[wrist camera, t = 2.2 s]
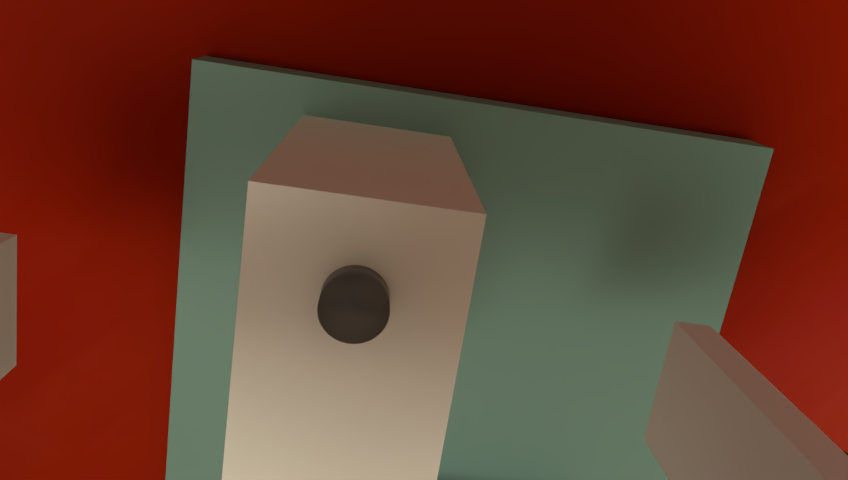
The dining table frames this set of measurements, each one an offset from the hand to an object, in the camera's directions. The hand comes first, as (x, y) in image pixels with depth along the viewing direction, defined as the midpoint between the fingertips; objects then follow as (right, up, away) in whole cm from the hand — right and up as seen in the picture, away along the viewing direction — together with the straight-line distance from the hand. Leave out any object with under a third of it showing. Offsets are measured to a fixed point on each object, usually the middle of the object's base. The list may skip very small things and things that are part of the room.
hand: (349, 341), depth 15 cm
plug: (0, +2, +6) cm, 6 cm away
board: (+2, -4, +10) cm, 11 cm away
